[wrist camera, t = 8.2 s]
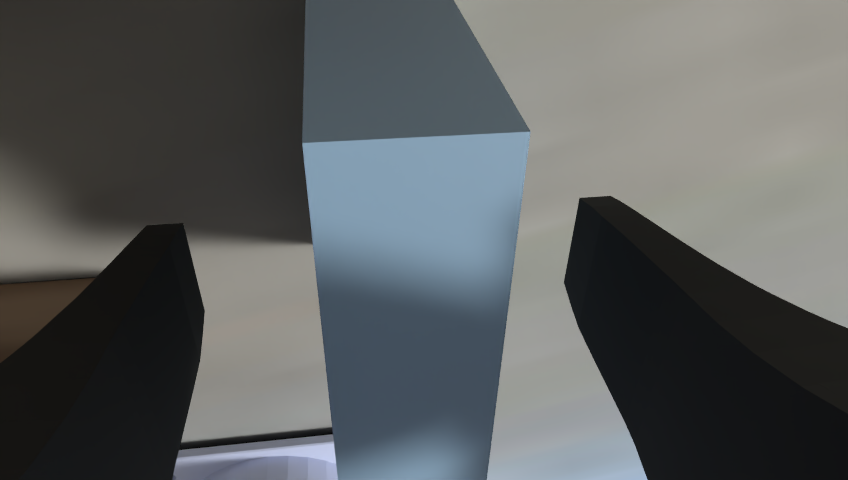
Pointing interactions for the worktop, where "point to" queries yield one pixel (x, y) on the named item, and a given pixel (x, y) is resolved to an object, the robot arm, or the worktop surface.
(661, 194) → the worktop surface
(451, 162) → the panel
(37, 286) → the rack
